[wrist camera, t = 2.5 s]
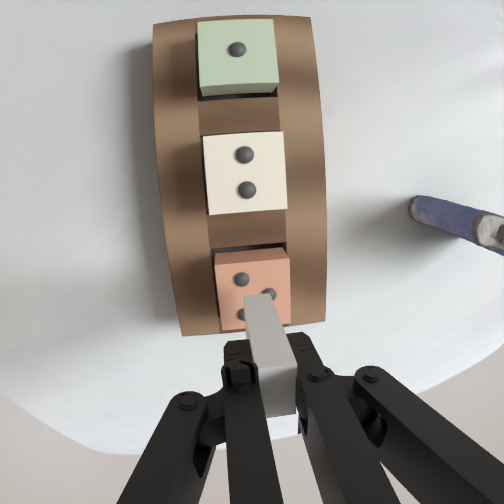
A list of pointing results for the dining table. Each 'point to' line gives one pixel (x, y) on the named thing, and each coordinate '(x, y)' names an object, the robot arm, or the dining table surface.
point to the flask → (461, 221)
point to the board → (194, 180)
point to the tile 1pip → (237, 56)
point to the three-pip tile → (252, 282)
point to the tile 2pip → (245, 172)
